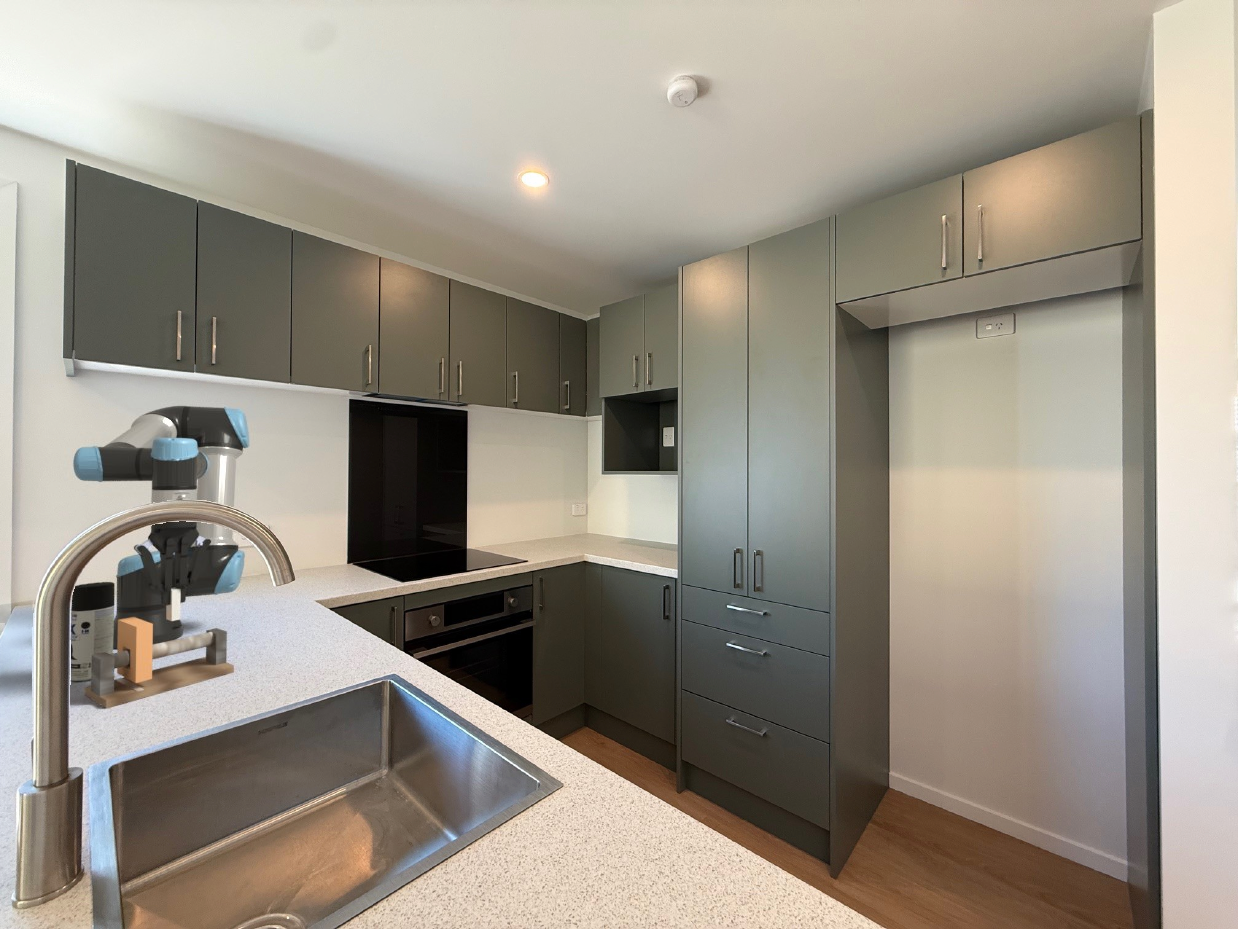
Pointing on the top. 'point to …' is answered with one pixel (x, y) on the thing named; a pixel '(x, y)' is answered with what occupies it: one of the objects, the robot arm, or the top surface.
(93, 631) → the spray can
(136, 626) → the collar
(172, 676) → the pipe stand
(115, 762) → the top surface
